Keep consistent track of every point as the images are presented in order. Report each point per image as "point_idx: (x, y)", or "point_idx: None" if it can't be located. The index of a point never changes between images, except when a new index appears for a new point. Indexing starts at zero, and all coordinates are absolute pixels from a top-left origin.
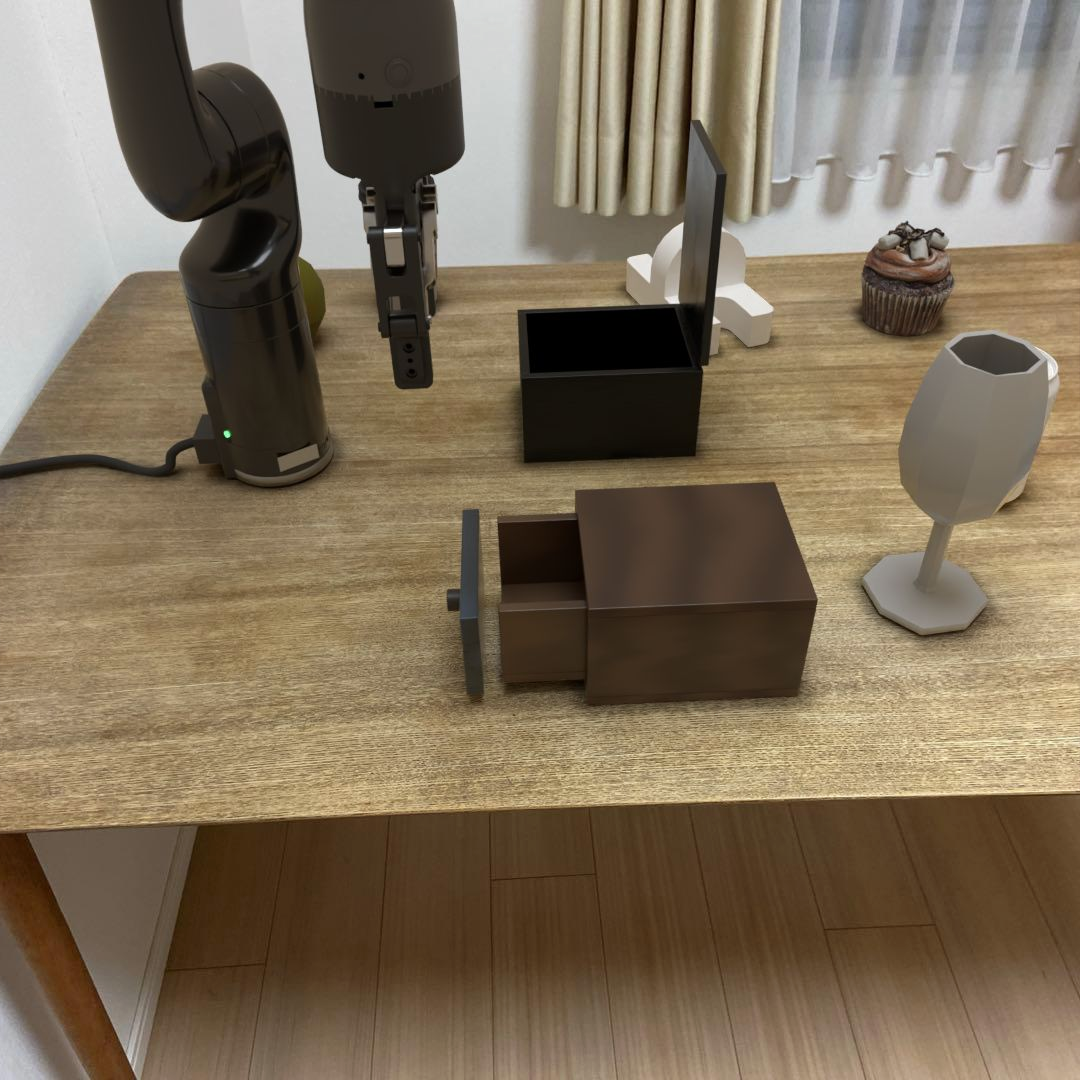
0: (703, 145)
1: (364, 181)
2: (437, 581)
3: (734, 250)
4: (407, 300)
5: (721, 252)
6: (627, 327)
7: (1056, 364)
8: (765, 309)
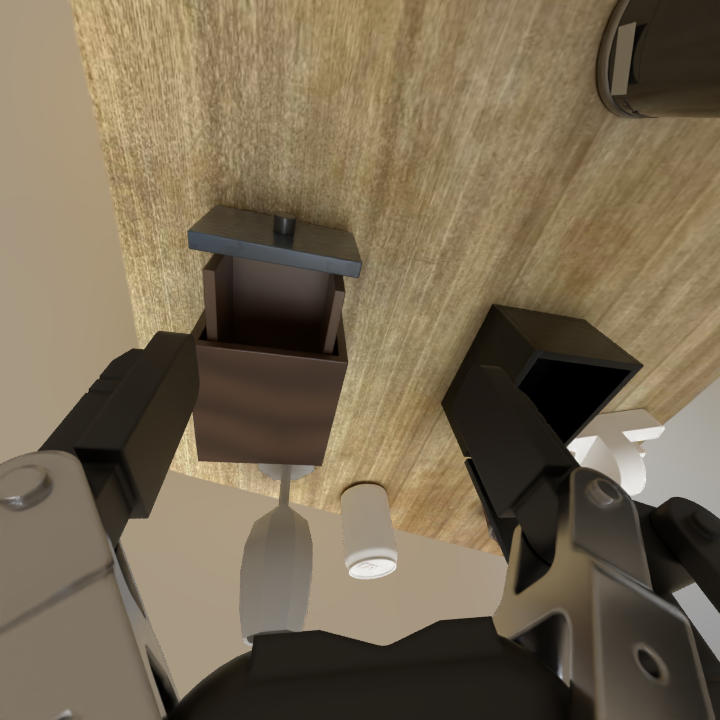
0: None
1: None
2: (374, 202)
3: None
4: (487, 400)
5: None
6: (563, 421)
7: (362, 578)
8: None
